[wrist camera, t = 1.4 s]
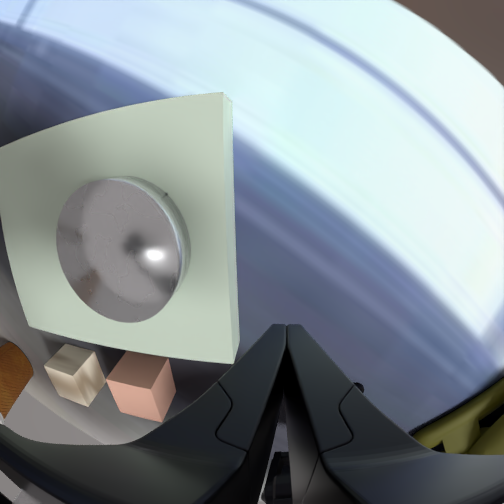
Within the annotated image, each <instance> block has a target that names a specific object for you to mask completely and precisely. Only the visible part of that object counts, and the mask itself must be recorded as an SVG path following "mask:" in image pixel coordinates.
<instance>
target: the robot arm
mask: <svg viewBox="0 0 504 504" xmlns="http://www.w3.org/2000/svg"><path fill="white" fill-rule="evenodd" d="M283 390H284V404H285V415H286V426H287V437H288V449H289V452H281V451H280V452H275V453H274V457H273V459H272V461H271V465H270V469H269V473H268V477H267V480H266V484H265V488H264V491H263V493H262V495H261V499H262V500H263V501H264V502H265V503H266V504H504V455H467V454H450V453H441V452H437V451H434V450H431V449H429V448H427V447H425V446H423V445H422V444H421V443H419V442H418V441H417V440H415V439H414V438H413V437H412V436H410V435H409V434H408V433H407V432H405V431H404V430H403V429H402V428H400V427H399V426H398V425H397V424H396V423H394V422H393V421H392V420H391V419H390V418H388V417H387V416H386V415H385V414H384V413H383V412H381V411H380V410H379V409H378V408H377V407H376V406H375V405H374V404H373V403H372V402H371V401H370V400H369V399H368V398H367V397H366V396H365V395H364V394H363V392H364V387H363V385H362V384H354V383H353V382H352V381H351V380H350V379H349V378H348V377H347V376H346V375H345V373H344V372H343V371H342V370H341V369H340V368H339V367H338V366H337V365H336V363H335V362H334V361H333V360H332V359H331V358H330V357H329V356H328V355H327V353H326V352H325V351H324V350H323V349H322V348H321V347H320V346H319V344H318V343H317V342H316V341H315V340H314V339H313V338H312V337H311V336H310V334H309V333H308V332H307V331H306V330H305V329H304V328H303V327H302V325H299V324H289V325H287V326H286V325H285V324H273V325H271V326H270V328H269V329H268V330H267V331H266V332H265V333H264V334H263V335H262V336H261V337H260V338H259V339H258V340H257V341H256V342H255V343H254V344H253V345H252V346H251V347H250V349H249V350H248V351H247V352H246V353H245V354H244V355H243V356H242V357H241V358H240V359H239V360H238V361H237V362H236V363H235V364H234V365H233V366H232V367H231V368H230V369H229V370H228V371H227V372H226V373H225V374H224V375H223V376H222V377H221V378H220V379H219V380H218V381H217V382H216V383H214V384H213V385H212V386H211V387H210V388H209V389H208V390H207V391H206V392H205V393H204V394H202V395H201V396H200V397H199V398H198V399H197V400H196V401H194V402H193V403H192V404H190V405H189V406H188V407H186V408H185V409H184V410H182V411H181V412H180V413H178V414H177V415H175V416H174V417H172V418H171V419H169V420H168V421H166V422H165V423H163V424H162V425H160V426H159V427H157V428H156V429H154V430H153V431H151V432H150V433H148V434H147V435H145V436H143V437H141V438H140V439H137V440H135V441H133V442H129V443H126V444H119V445H66V444H52V443H43V442H38V441H33V440H30V439H27V438H24V437H22V436H20V435H18V434H16V433H15V432H13V431H12V430H11V429H9V428H8V427H6V426H5V425H3V424H0V470H1V471H2V472H3V473H4V474H5V475H6V476H7V477H8V478H9V479H11V480H12V481H13V482H14V483H15V484H16V485H17V486H18V487H19V488H21V490H20V492H19V493H18V495H17V497H16V498H15V500H14V502H12V501H11V500H9V499H8V498H7V497H6V496H5V495H3V494H2V493H1V492H0V504H257V503H258V500H259V496H260V492H261V489H262V485H263V481H264V477H265V473H266V469H267V465H268V461H269V457H270V453H271V449H272V444H273V440H274V436H275V431H276V427H277V422H278V418H279V413H280V408H281V403H282V398H283Z"/></svg>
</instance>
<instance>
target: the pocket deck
mask: <svg viewBox="0 0 504 504" xmlns="http://www.w3.org/2000/svg"><path fill="white" fill-rule="evenodd" d="M119 176H133V177H138V178H142V179H145V180H147V181H149V182H151V183H153V184H155V185H156V186H158V187H159V188H161V189H162V190H163V191H164V192H165V193H168V196H169V197H170V198H171V199H172V200H173V201H174V203H175V204H176V206H177V207H178V208H179V210H180V212H181V214H182V216H183V218H184V220H185V223H186V225H187V229H188V232H189V236H190V243H191V258H190V265H189V269H188V272H187V275H186V277H185V279H184V281H183V283H182V284H181V286H180V287H179V288H178V290H177V291H176V292H175V294H174V295H173V296H172V298H171V299H170V300H169V301H168V303H167V304H166V305H165V307H164V308H163V309H162V310H161V311H160V312H159V313H158V314H156V315H155V316H153V317H151V318H150V319H147V320H145V321H141V322H136V323H124V322H118V321H114V320H111V319H108V318H106V317H104V316H102V315H100V314H98V313H97V312H95V311H94V310H92V309H91V308H90V307H88V306H87V305H86V304H85V303H84V302H83V301H82V300H81V299H80V298H79V297H78V296H77V294H76V293H75V292H74V290H73V289H72V288H71V286H70V284H69V283H68V281H67V279H66V277H65V275H64V273H63V270H62V268H61V265H60V261H59V258H58V253H57V246H56V230H57V224H58V219H59V216H60V213H61V211H62V208H63V206H64V204H65V203H66V201H67V200H68V198H69V197H70V196H71V195H72V194H73V193H74V192H75V191H76V190H77V189H78V188H80V187H82V186H83V185H85V184H88V183H90V182H93V181H98V180H103V179H108V178H114V177H119ZM0 215H1V222H2V228H3V233H4V239H5V244H6V249H7V253H8V258H9V262H10V266H11V270H12V274H13V278H14V281H15V285H16V288H17V292H18V295H19V298H20V301H21V304H22V307H23V310H24V313H25V316H26V319H27V322H28V324H29V326H30V327H33V328H37V329H40V330H44V331H47V332H51V333H54V334H58V335H62V336H65V337H69V338H73V339H77V340H81V341H86V342H90V343H94V344H99V345H104V346H108V347H113V348H118V349H123V350H129V351H134V352H140V353H146V354H152V355H159V356H165V357H172V358H180V359H188V360H196V361H206V362H216V363H227V364H234V361H235V357H236V353H237V349H238V345H239V341H240V338H239V317H238V294H237V268H236V240H235V209H234V171H233V122H232V101H231V100H230V99H229V98H228V97H227V96H226V95H225V94H224V93H223V92H219V93H208V94H198V95H190V96H182V97H175V98H168V99H162V100H156V101H150V102H145V103H140V104H135V105H130V106H125V107H121V108H117V109H112V110H108V111H104V112H100V113H96V114H93V115H89V116H85V117H82V118H79V119H75V120H72V121H69V122H66V123H62V124H59V125H56V126H53V127H51V128H48V129H45V130H42V131H39V132H37V133H34V134H31V135H29V136H26V137H24V138H21V139H19V140H16V141H14V142H12V143H9V144H7V145H5V146H3V147H0Z"/></svg>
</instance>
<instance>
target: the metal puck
mask: <svg viewBox="0 0 504 504" xmlns="http://www.w3.org/2000/svg"><path fill="white" fill-rule="evenodd" d="M56 246H57V253H58V258H59V261H60V265H61V268H62V270H63V273H64V275H65V277H66V279H67V281H68V283H69V284H70V286H71V288H72V289H73V290H74V292H75V293H76V294H77V296H78V297H79V298H80V299H81V300H82V301H83V302H84V303H85V304H86V305H87V306H88V307H90V308H91V309H92V310H94V311H95V312H97V313H98V314H100V315H102V316H104V317H106V318H108V319H111V320H114V321H118V322H124V323H136V322H141V321H145V320H147V319H150V318H151V317H153V316H155V315H156V314H158V313H159V312H160V311H161V310H162V309H163V308H164V307H165V305H166V304H167V303H168V301H169V300H170V299H171V298H172V296H173V295H174V294H175V292H176V291H177V290H178V288H179V287H180V286H181V284H182V283H183V281H184V279H185V277H186V275H187V272H188V269H189V265H190V258H191V243H190V236H189V232H188V229H187V225H186V223H185V220H184V218H183V216H182V214H181V212H180V210H179V208H178V207H177V206H176V204H175V203H174V201H173V200H172V199H171V198H170V197H169V196H168V195H167V194H166V193H165V192H164V191H163V190H162V189H161V188H159V187H158V186H156V185H155V184H153V183H151V182H149V181H147V180H145V179H142V178H138V177H133V176H119V177H114V178H108V179H103V180H98V181H93V182H90V183H88V184H85V185H83V186H82V187H80V188H78V189H77V190H76V191H75V192H74V193H73V194H72V195H71V196H70V197H69V198H68V200H67V201H66V203H65V204H64V206H63V208H62V211H61V213H60V216H59V219H58V224H57V230H56Z"/></svg>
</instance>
